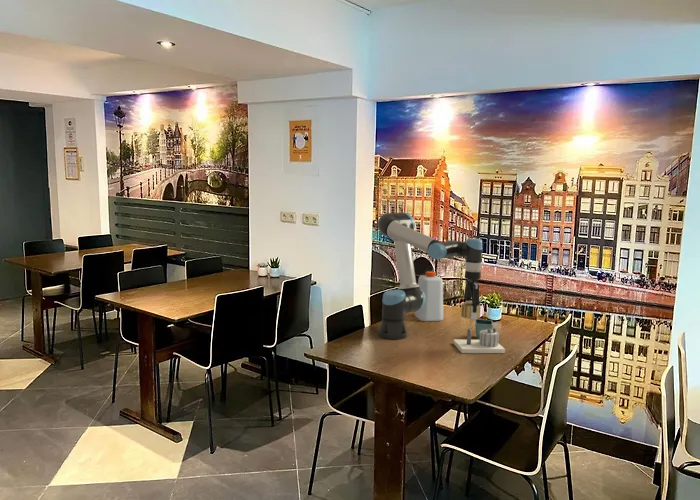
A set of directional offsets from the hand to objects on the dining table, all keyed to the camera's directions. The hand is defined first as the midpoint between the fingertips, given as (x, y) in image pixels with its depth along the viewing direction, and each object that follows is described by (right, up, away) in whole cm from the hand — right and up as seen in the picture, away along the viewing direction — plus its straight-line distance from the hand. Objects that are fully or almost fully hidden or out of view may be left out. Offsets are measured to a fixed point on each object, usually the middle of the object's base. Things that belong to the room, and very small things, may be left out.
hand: (470, 316), depth 255 cm
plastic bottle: (-12, -9, +56) cm, 58 cm away
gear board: (+4, -16, +3) cm, 17 cm away
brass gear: (0, 0, 0) cm, 0 cm away
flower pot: (+11, -14, +19) cm, 26 cm away
